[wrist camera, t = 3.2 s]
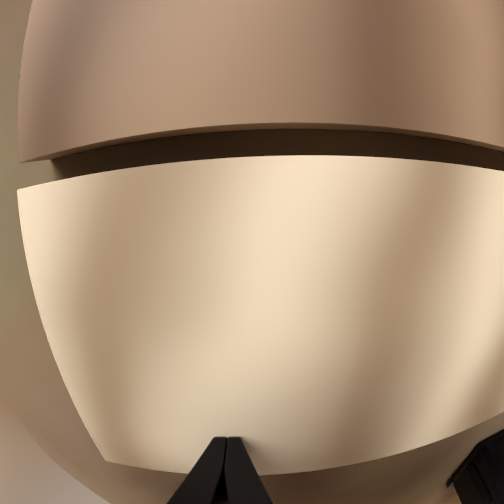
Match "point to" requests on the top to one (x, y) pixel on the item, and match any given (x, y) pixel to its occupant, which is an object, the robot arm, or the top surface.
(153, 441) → the oak plank
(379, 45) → the walnut board
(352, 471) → the top surface
